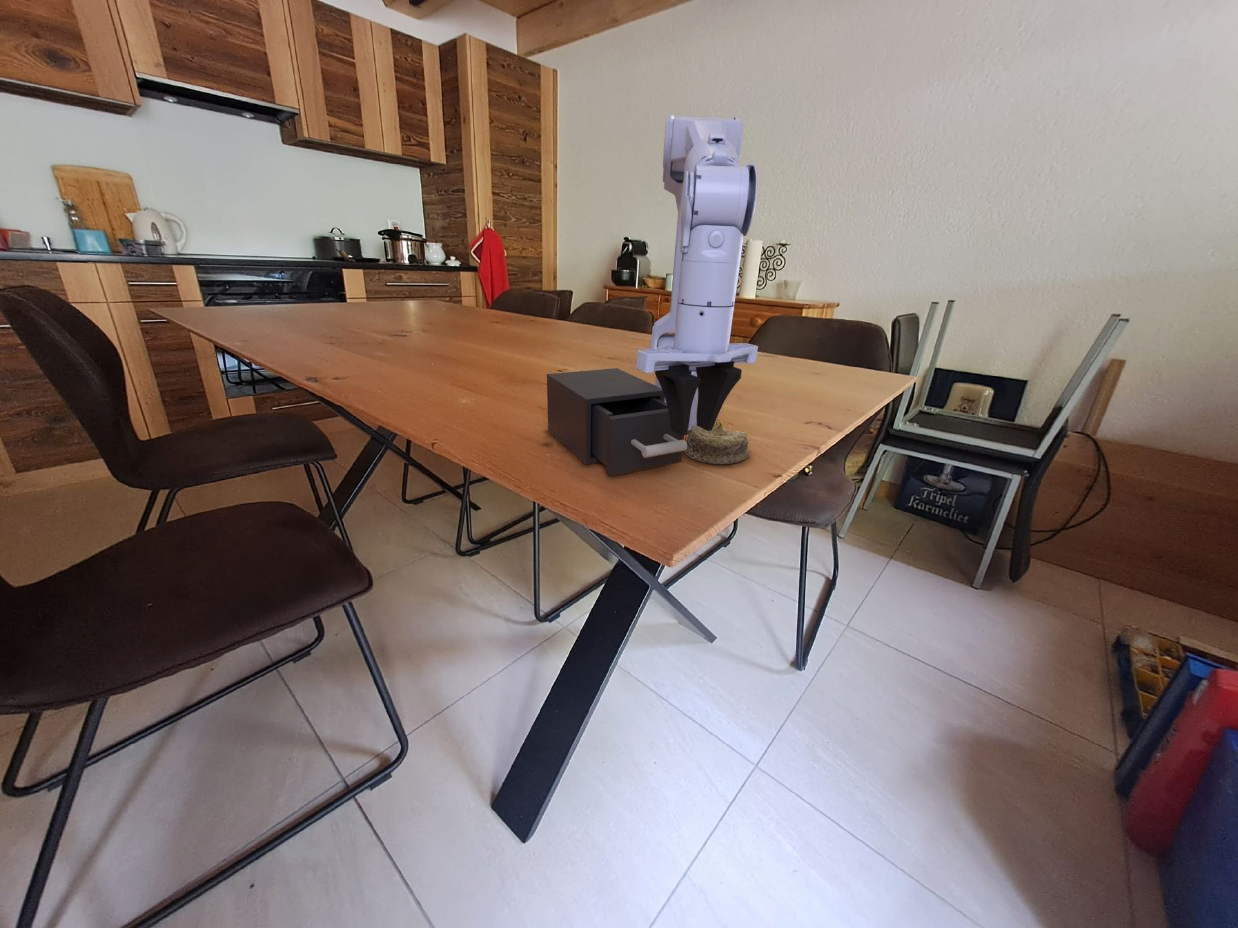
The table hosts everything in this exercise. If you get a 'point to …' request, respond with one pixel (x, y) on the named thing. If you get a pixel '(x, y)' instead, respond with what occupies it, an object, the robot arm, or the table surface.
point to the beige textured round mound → (716, 445)
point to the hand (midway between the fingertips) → (691, 430)
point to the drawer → (634, 435)
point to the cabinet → (588, 403)
